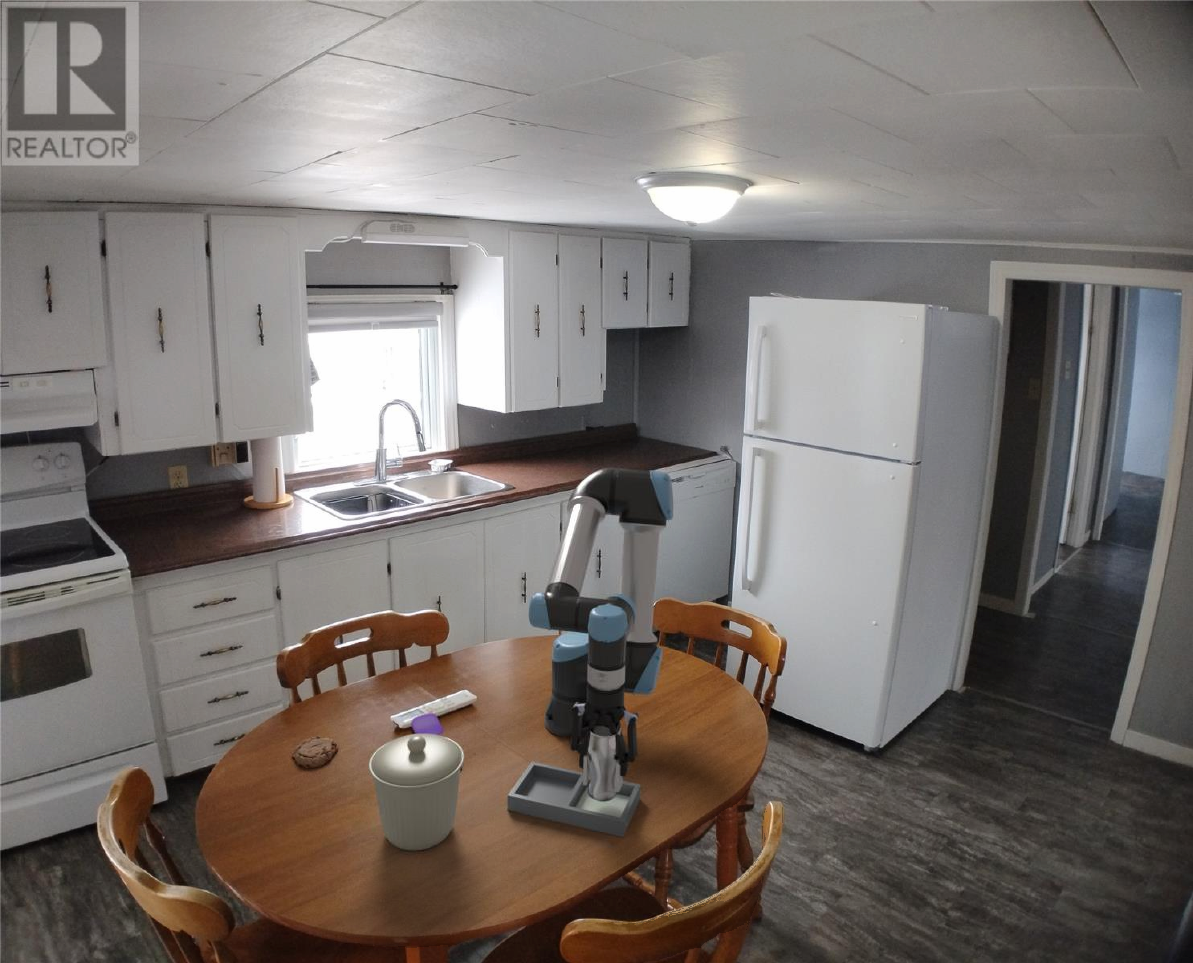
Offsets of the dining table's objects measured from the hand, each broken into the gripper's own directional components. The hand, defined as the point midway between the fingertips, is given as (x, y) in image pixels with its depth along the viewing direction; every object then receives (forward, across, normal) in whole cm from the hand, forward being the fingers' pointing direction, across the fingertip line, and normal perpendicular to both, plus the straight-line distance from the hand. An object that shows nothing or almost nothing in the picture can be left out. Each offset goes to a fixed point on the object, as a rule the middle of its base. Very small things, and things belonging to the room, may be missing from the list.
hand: (602, 784), depth 166 cm
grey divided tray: (+6, -6, 0) cm, 9 cm away
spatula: (+7, -44, +10) cm, 45 cm away
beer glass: (+2, 0, 0) cm, 2 cm away
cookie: (+7, -68, -3) cm, 68 cm away
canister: (+6, -32, -19) cm, 38 cm away
